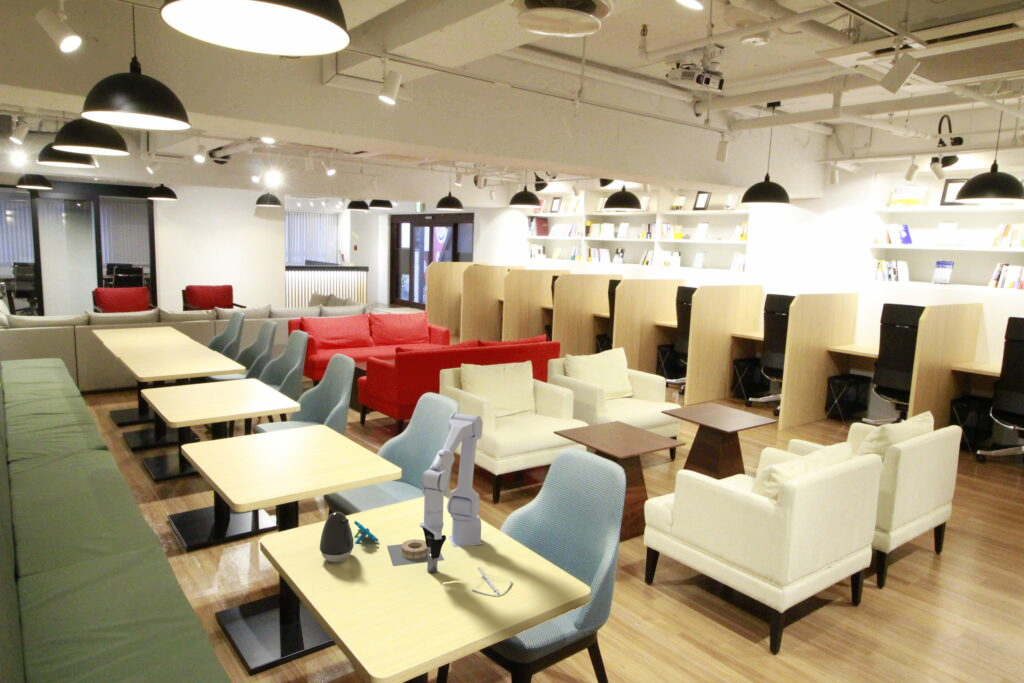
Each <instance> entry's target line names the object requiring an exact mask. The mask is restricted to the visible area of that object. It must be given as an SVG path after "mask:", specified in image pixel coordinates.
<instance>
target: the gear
mask: <svg viewBox="0 0 1024 683" xmlns="http://www.w3.org/2000/svg"><path fill="white" fill-rule="evenodd" d="M353 524H354V525H356V527H357V528H358V529H357V532H356V534H355V535H354V537H353V538H357V537H358V538H357V539H356V541H354V544H357V545H358V544H359V543H360V542H361V541H362V539H364V538H365V537H366V536H367V537H370V538H371V539H372V540H373V541H375V542H376V543H378V542H379V538H377V536H375V535H374V534H373V533H371V531H370V529H369V528H368V527H367V528H366V527H365V526H364V525H362V524H361V523H360V522H359V521H357V520H355V521H354V522H353ZM359 535H360V536H359Z"/></svg>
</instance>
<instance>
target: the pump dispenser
mask: <svg viewBox="0 0 1024 683" xmlns="http://www.w3.org/2000/svg"><path fill="white" fill-rule="evenodd" d="M324 522H325V523H324V526H323V528H322V532H321V536H320V542H319V551H320V552H321V556H322V557H323V558H324V559H325V560H326V561H327V562H329V563H340V562H343V561H345V560H347V559H348V558H349V557H350V556H351V554H352V551H353V549H354V544H355V542H354V537H353V532H352V529H351V524H350V521H349V519H348V518H347V516H346V515H345V514H344V513H343V512H341V511H334V512H332V513H331V514H329V515H328V516H327V519H326V521H324Z"/></svg>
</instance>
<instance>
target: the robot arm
mask: <svg viewBox="0 0 1024 683" xmlns="http://www.w3.org/2000/svg"><path fill="white" fill-rule="evenodd" d="M483 424H484V423H483V420H482V418H481V416H480V415H473V414H472V415H471V414H466V413H465V414H464V413H457V412H453V413H452V414H451V415H450V416H449V420H448V431H449V432H448V436H447V438H446V441H445V443H444V445H443V448H442V449H440V450H438V451H437V453H436V455H435V457H434V459H433V460H432V463H431V465H430V467H429V469H426V470H424V471H423V473H422V475H421V480H420V484H421V488H422V495H424V497H423V498H424V499H423V501H424V502H423V503H424V504H423V522H420V523H419V527H420V528H421V529H422V531H423V534H424V539H425V540H424V541H426V546H427V547H430V552H431V557H432V559H434V558H439V556H440V552H441V551H442V548H443V545H444V543H445V542H446V540H447V536H446V534H442V530H443V527H444V525H445V524H444V496H445V493H444V492H445V490H446V487H447V486H448V481H449V480H448V479H449V477H450V475H449V473H450V471H451V469H452V466H453V464H454V462H455V458H456V457H455V455H454V454H455V452H456V451H457V449H458V447H459V445H460V444H461V448H460V456H459V466H458V475H457V476H458V478H457V487H456V488H454V489H452V490H451V491H450V493H449V498H448V500H447V504H446V510H447V513H448V514H450V518H451V519H452V520H451V523H452V525H451V535H449V536H448V540H449V541H450V543H451V545H452V546H453V547H454V548H456V547H457V548H458V547H467V546H481V545H482V538H481V537H482V520H481V517H480V515H479V513H480V509H481V505H480V504H481V503H480V494H479V493H478V492H477V491H476V490H475V489H474V488H473V484H474V481H473V480H474V470H475V461H476V449H477V441H478V440H480V439H481V438H482V433H483ZM441 553H442V552H441Z"/></svg>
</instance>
